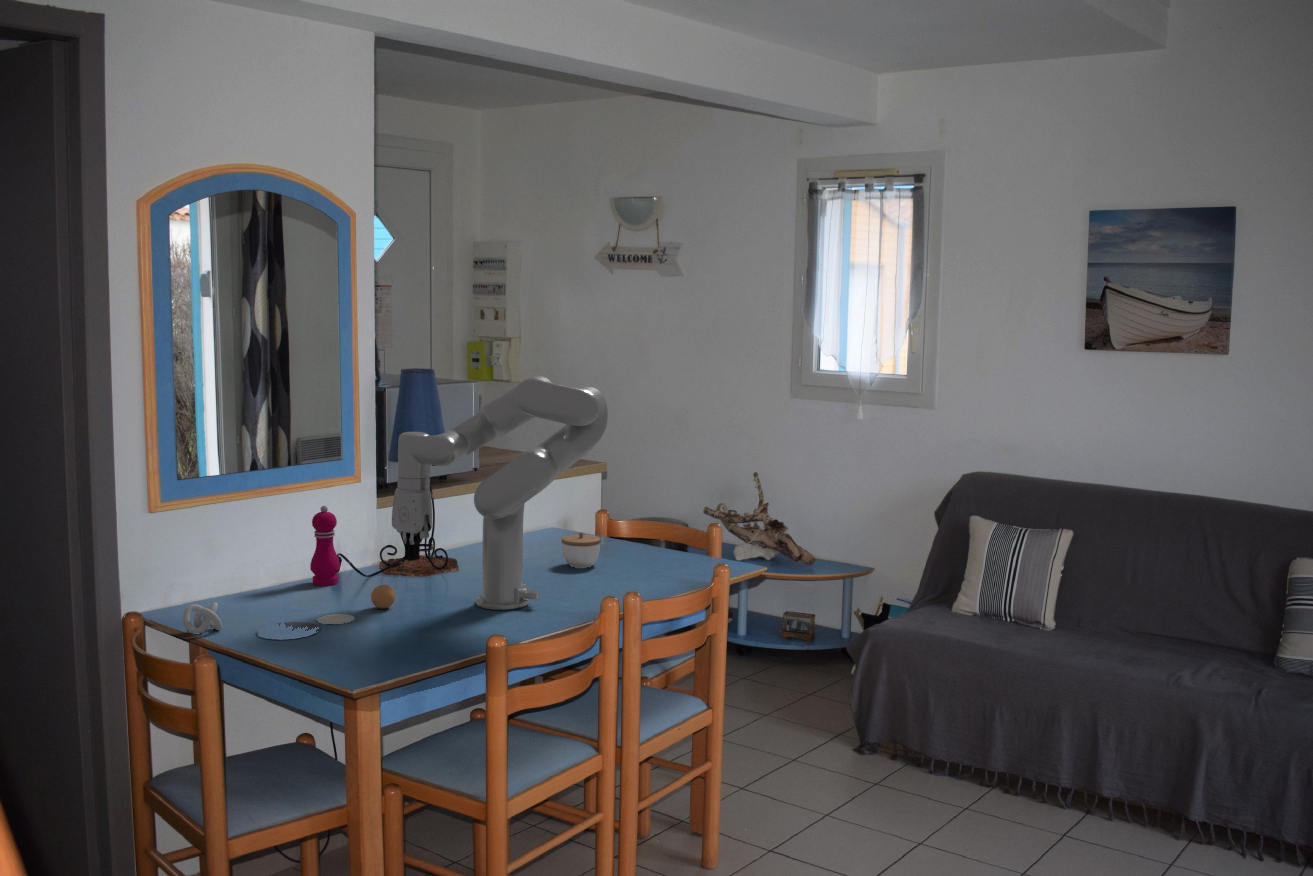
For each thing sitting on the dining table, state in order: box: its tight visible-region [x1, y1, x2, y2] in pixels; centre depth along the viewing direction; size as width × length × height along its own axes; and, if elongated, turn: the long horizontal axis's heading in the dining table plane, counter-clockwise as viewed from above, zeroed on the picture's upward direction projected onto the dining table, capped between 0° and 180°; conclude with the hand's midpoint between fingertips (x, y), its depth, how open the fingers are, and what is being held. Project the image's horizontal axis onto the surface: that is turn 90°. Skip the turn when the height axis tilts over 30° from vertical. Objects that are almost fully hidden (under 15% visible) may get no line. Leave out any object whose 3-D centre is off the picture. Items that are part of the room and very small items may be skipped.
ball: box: [370, 584, 396, 609], centre depth 254 cm, size 6×6×6 cm
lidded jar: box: [561, 531, 602, 569], centre depth 300 cm, size 11×11×9 cm
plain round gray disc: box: [316, 613, 355, 625], centre depth 244 cm, size 8×8×1 cm
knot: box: [182, 601, 223, 634], centre depth 234 cm, size 8×8×6 cm
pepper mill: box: [309, 505, 341, 587], centre depth 275 cm, size 7×7×20 cm
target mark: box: [277, 621, 321, 632], centre depth 235 cm, size 13×13×1 cm
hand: (412, 559), depth 261 cm, fingers closed
